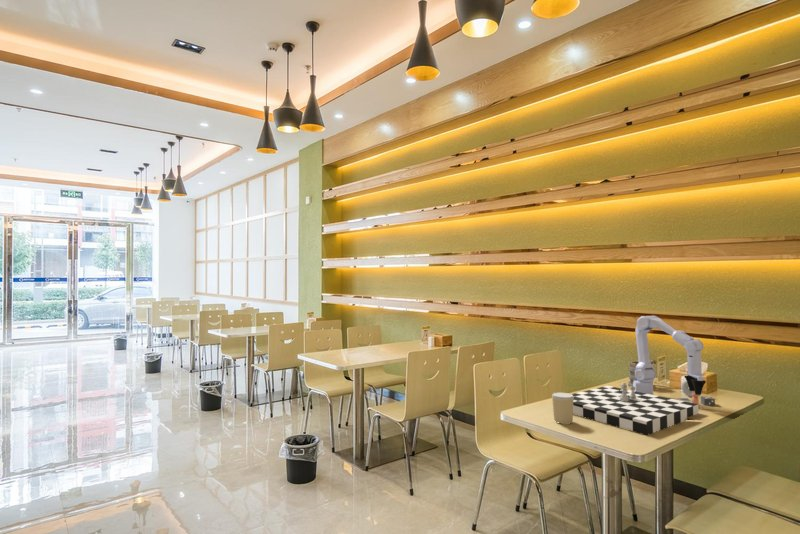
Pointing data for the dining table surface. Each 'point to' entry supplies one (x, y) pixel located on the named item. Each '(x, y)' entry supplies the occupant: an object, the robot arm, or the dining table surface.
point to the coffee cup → (563, 407)
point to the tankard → (632, 371)
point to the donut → (686, 389)
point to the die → (708, 401)
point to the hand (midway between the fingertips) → (695, 392)
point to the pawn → (695, 399)
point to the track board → (687, 401)
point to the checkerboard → (631, 408)
